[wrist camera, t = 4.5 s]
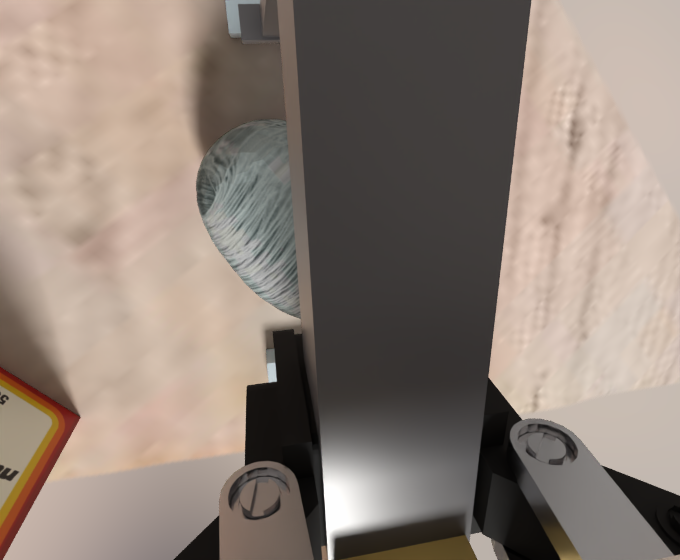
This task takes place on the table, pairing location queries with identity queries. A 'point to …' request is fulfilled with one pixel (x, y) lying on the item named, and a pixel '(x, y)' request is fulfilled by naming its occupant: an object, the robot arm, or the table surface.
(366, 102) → the gray arch frame
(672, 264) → the table surface
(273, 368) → the pale blue block pair
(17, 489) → the baking soda box
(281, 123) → the gray yarn ball
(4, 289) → the table surface
